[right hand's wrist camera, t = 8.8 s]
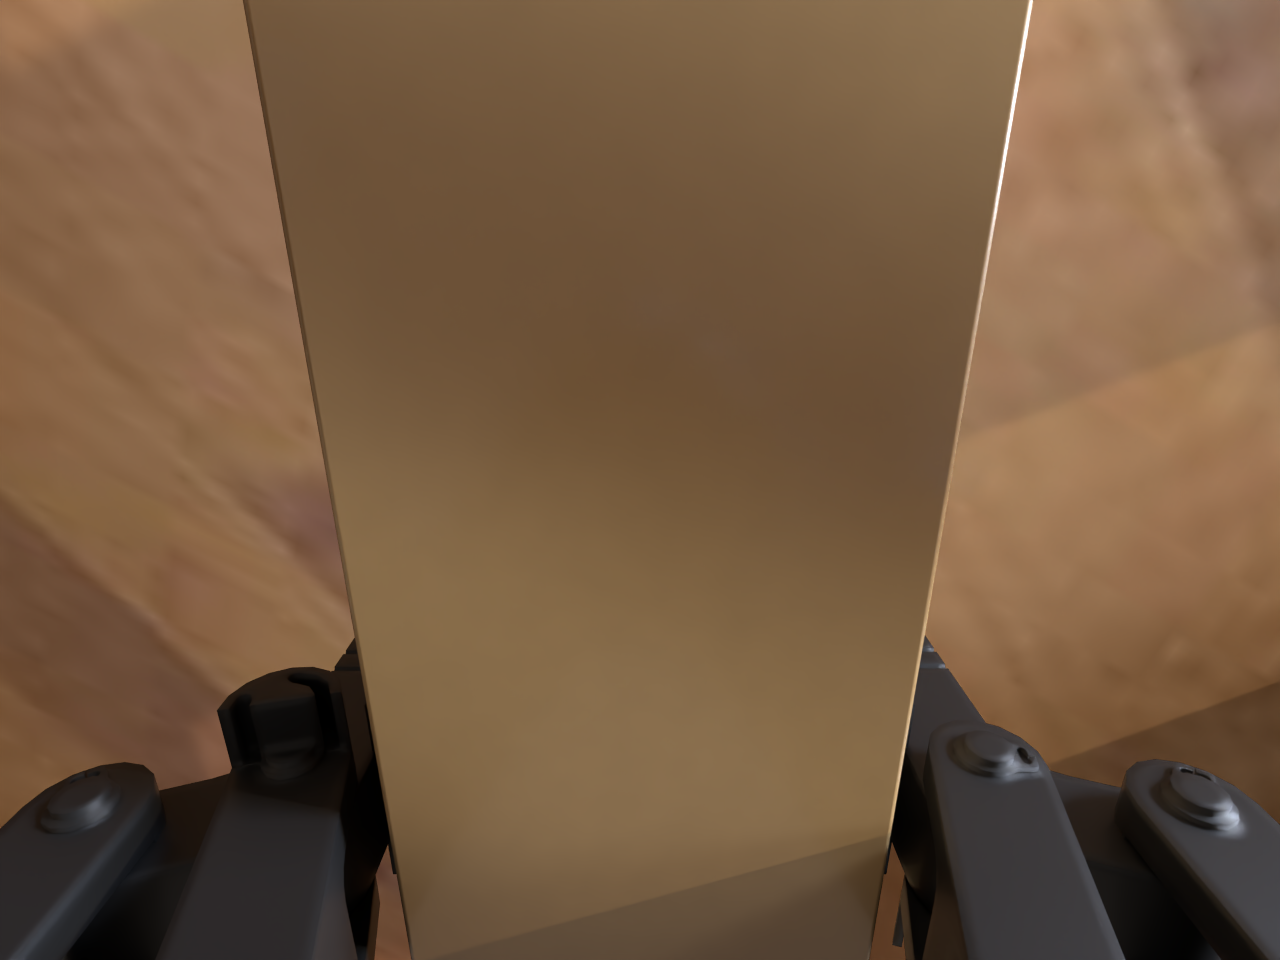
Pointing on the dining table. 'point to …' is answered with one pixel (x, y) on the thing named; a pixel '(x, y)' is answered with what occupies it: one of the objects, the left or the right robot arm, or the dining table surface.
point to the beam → (639, 437)
